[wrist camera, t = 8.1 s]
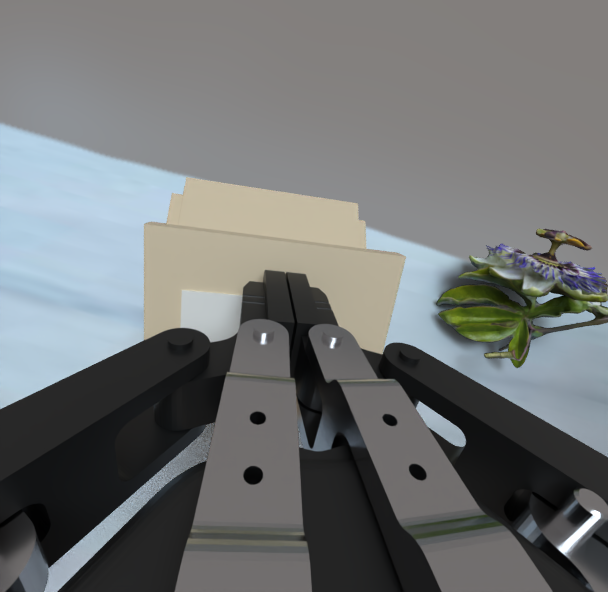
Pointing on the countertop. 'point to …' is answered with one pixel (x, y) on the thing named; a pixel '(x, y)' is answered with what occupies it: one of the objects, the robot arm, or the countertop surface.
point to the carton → (267, 213)
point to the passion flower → (524, 296)
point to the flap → (260, 280)
